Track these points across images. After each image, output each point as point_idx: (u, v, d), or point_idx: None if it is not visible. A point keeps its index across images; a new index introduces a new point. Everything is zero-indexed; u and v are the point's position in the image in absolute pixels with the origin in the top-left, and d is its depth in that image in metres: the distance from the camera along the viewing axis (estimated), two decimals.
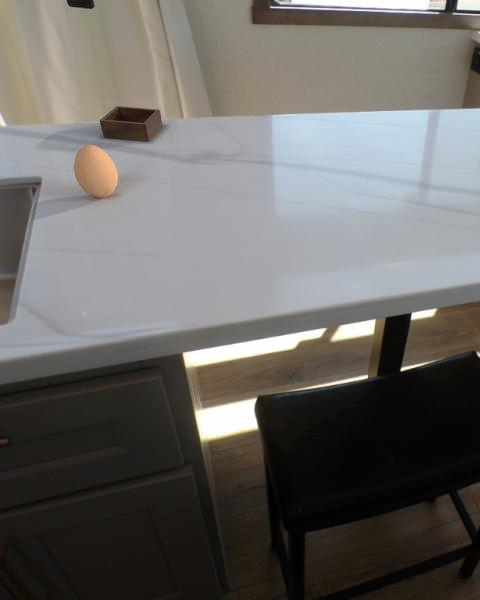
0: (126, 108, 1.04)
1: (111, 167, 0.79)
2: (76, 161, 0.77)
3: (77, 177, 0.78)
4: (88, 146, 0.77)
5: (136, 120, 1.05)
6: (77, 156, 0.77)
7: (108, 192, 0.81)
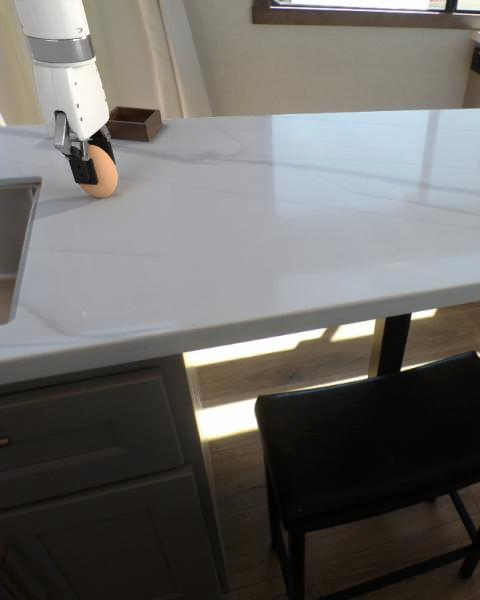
0: (126, 108, 1.04)
1: (111, 167, 0.79)
2: None
3: None
4: (88, 146, 0.77)
5: (136, 120, 1.05)
6: None
7: (108, 192, 0.81)
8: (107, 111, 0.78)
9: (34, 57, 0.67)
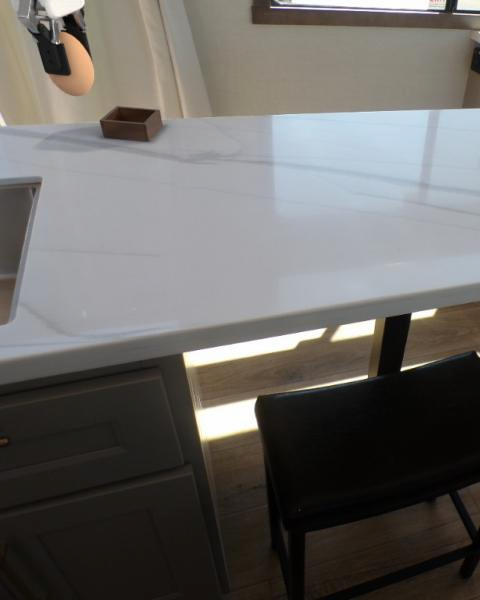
0: (126, 108, 1.04)
1: (86, 59, 0.72)
2: None
3: None
4: (60, 32, 0.70)
5: (136, 120, 1.05)
6: None
7: (82, 89, 0.73)
8: None
9: None
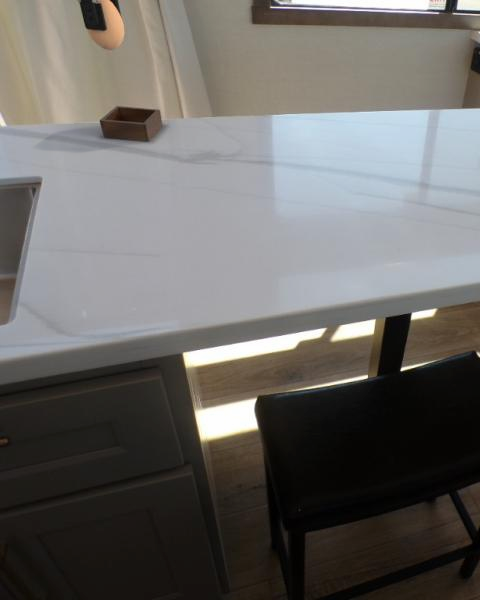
0: (126, 108, 1.04)
1: (118, 18, 0.87)
2: None
3: None
4: None
5: (136, 120, 1.05)
6: None
7: (115, 43, 0.89)
8: None
9: None
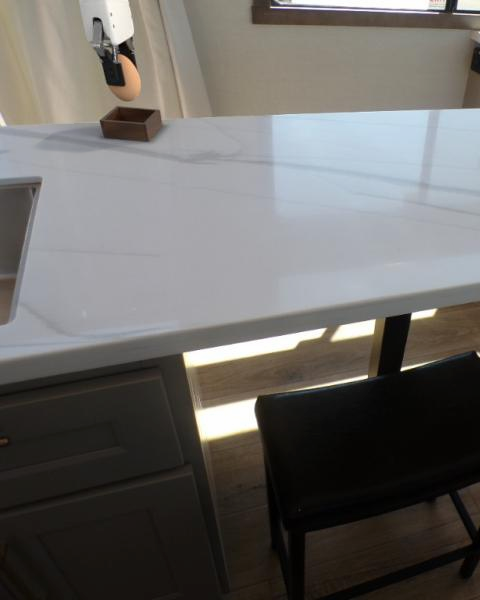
0: (126, 108, 1.04)
1: (135, 74, 0.96)
2: None
3: None
4: None
5: (136, 120, 1.05)
6: None
7: (132, 96, 0.98)
8: (132, 26, 0.95)
9: None
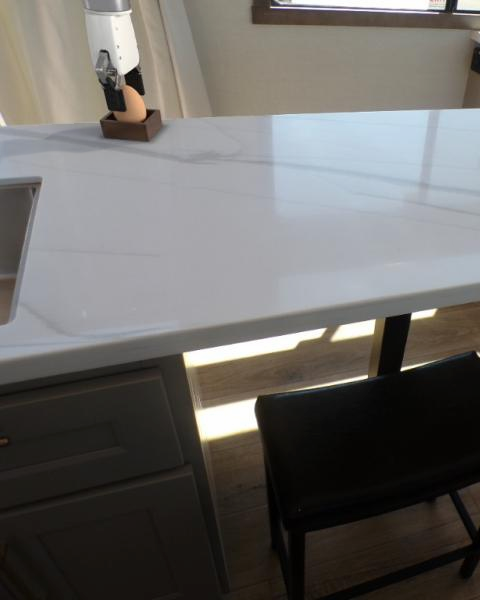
0: None
1: (141, 104, 1.00)
2: None
3: None
4: (124, 85, 0.98)
5: None
6: None
7: None
8: (138, 56, 0.98)
9: (86, 7, 0.87)
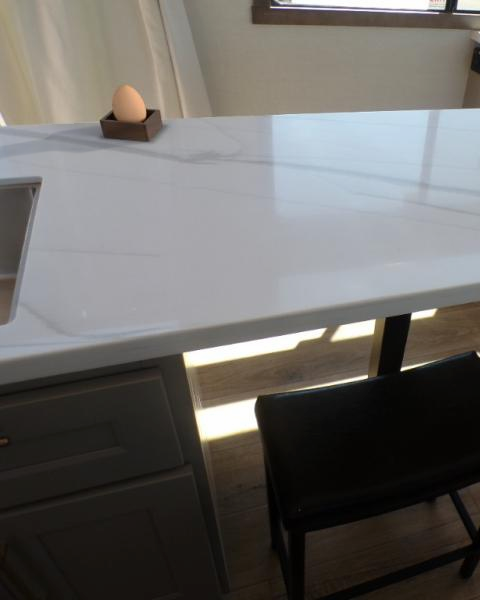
0: None
1: (141, 104, 1.00)
2: (114, 97, 0.98)
3: (115, 110, 0.98)
4: (124, 85, 0.98)
5: None
6: (115, 94, 0.97)
7: None
8: None
9: None
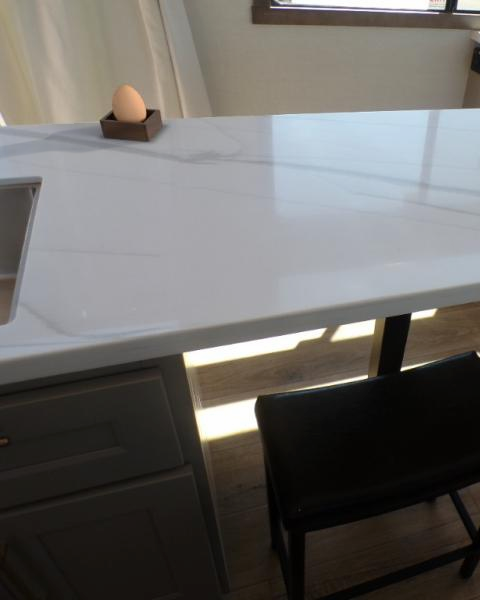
0: None
1: (141, 104, 1.00)
2: (114, 97, 0.98)
3: (115, 110, 0.98)
4: (124, 85, 0.98)
5: None
6: (115, 94, 0.97)
7: None
8: None
9: None
